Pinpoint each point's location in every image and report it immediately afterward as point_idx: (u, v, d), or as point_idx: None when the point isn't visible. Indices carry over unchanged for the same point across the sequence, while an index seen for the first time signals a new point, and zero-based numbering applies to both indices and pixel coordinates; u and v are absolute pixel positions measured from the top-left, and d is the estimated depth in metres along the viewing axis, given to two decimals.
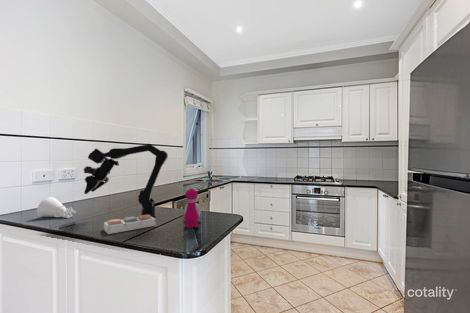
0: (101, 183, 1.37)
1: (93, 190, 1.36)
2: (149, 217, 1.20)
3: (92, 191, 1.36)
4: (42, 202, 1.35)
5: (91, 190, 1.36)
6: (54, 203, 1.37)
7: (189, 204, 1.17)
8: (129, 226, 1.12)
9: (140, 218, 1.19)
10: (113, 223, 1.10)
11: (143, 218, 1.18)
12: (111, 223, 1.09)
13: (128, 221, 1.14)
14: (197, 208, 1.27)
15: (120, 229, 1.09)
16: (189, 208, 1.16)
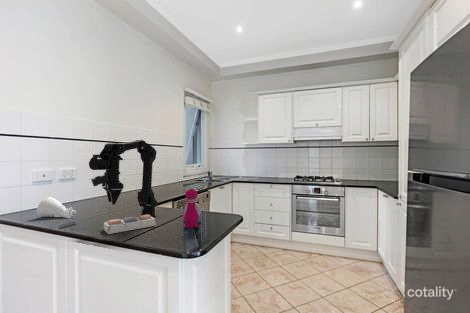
0: None
1: (110, 200, 1.16)
2: (149, 217, 1.20)
3: (110, 201, 1.16)
4: (42, 202, 1.35)
5: None
6: (54, 203, 1.37)
7: (189, 204, 1.17)
8: (129, 226, 1.12)
9: (140, 218, 1.19)
10: (113, 223, 1.10)
11: (143, 218, 1.18)
12: (111, 223, 1.09)
13: (128, 221, 1.14)
14: (197, 208, 1.27)
15: (120, 229, 1.09)
16: (189, 208, 1.16)
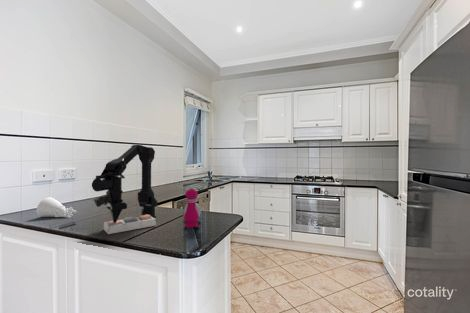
0: None
1: None
2: (149, 217, 1.20)
3: (115, 221, 1.12)
4: (42, 202, 1.35)
5: (113, 221, 1.12)
6: (54, 203, 1.37)
7: (189, 204, 1.17)
8: (129, 226, 1.12)
9: (140, 218, 1.19)
10: None
11: (143, 218, 1.18)
12: None
13: (128, 221, 1.14)
14: (197, 208, 1.27)
15: (120, 229, 1.09)
16: (189, 208, 1.16)
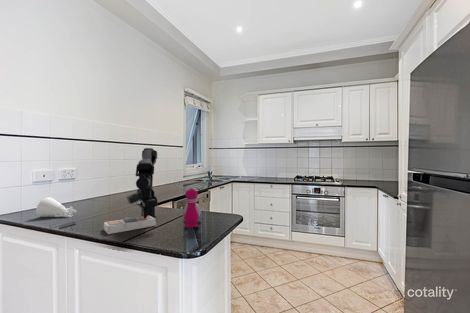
0: None
1: None
2: None
3: (145, 217, 1.21)
4: (41, 202, 1.35)
5: (144, 217, 1.21)
6: (54, 203, 1.37)
7: (189, 204, 1.17)
8: (129, 226, 1.12)
9: None
10: None
11: None
12: None
13: (128, 221, 1.14)
14: (197, 208, 1.27)
15: (120, 229, 1.09)
16: (189, 208, 1.16)
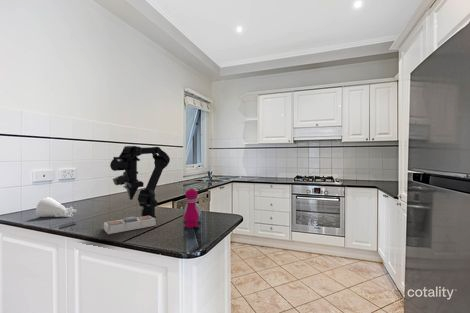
0: None
1: None
2: None
3: (131, 199, 1.25)
4: (41, 202, 1.35)
5: (130, 199, 1.25)
6: (53, 203, 1.37)
7: (189, 204, 1.17)
8: (129, 226, 1.12)
9: None
10: None
11: None
12: None
13: (128, 221, 1.14)
14: (197, 208, 1.27)
15: (120, 229, 1.09)
16: (189, 208, 1.16)
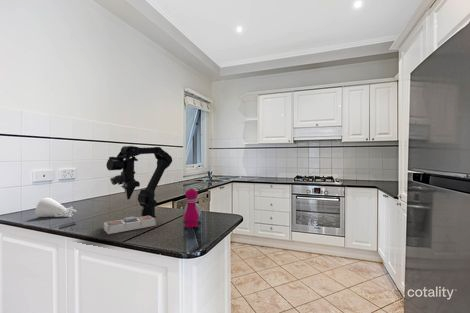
0: None
1: None
2: None
3: None
4: (41, 202, 1.35)
5: (127, 198, 1.26)
6: (53, 203, 1.37)
7: (189, 204, 1.17)
8: (129, 226, 1.12)
9: None
10: None
11: None
12: None
13: (128, 221, 1.14)
14: (197, 208, 1.27)
15: (120, 229, 1.09)
16: (189, 208, 1.16)
